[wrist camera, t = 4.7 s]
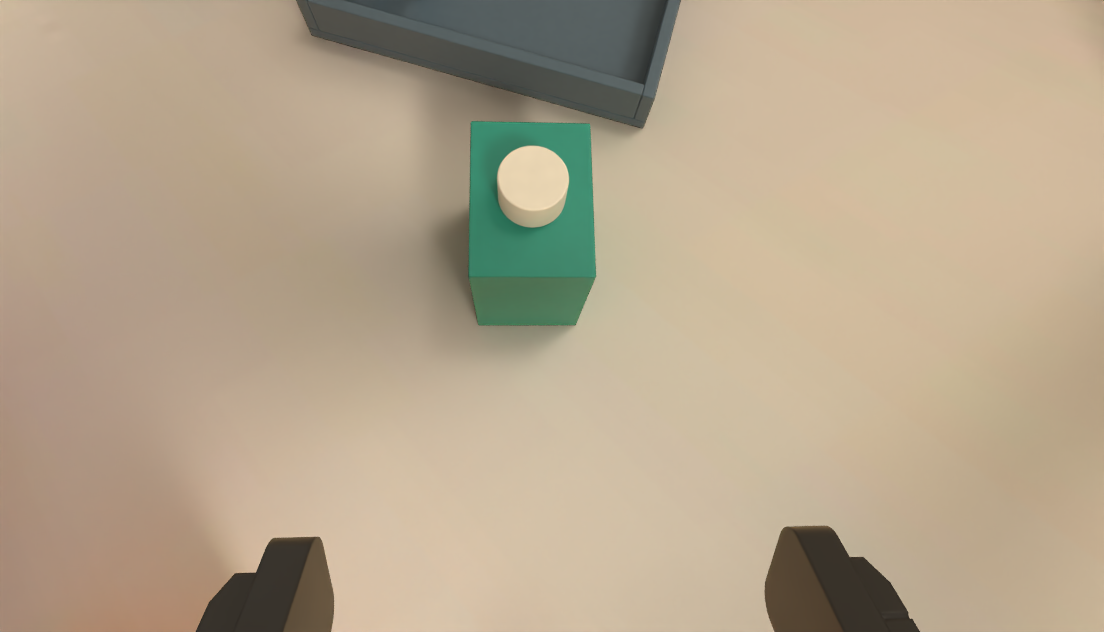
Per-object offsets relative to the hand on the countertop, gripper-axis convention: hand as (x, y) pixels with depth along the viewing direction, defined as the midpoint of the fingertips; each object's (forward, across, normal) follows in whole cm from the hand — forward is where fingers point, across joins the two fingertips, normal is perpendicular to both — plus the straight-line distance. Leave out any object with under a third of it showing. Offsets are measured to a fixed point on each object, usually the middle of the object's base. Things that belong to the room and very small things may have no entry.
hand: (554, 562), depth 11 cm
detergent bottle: (+19, 0, +3) cm, 19 cm away
